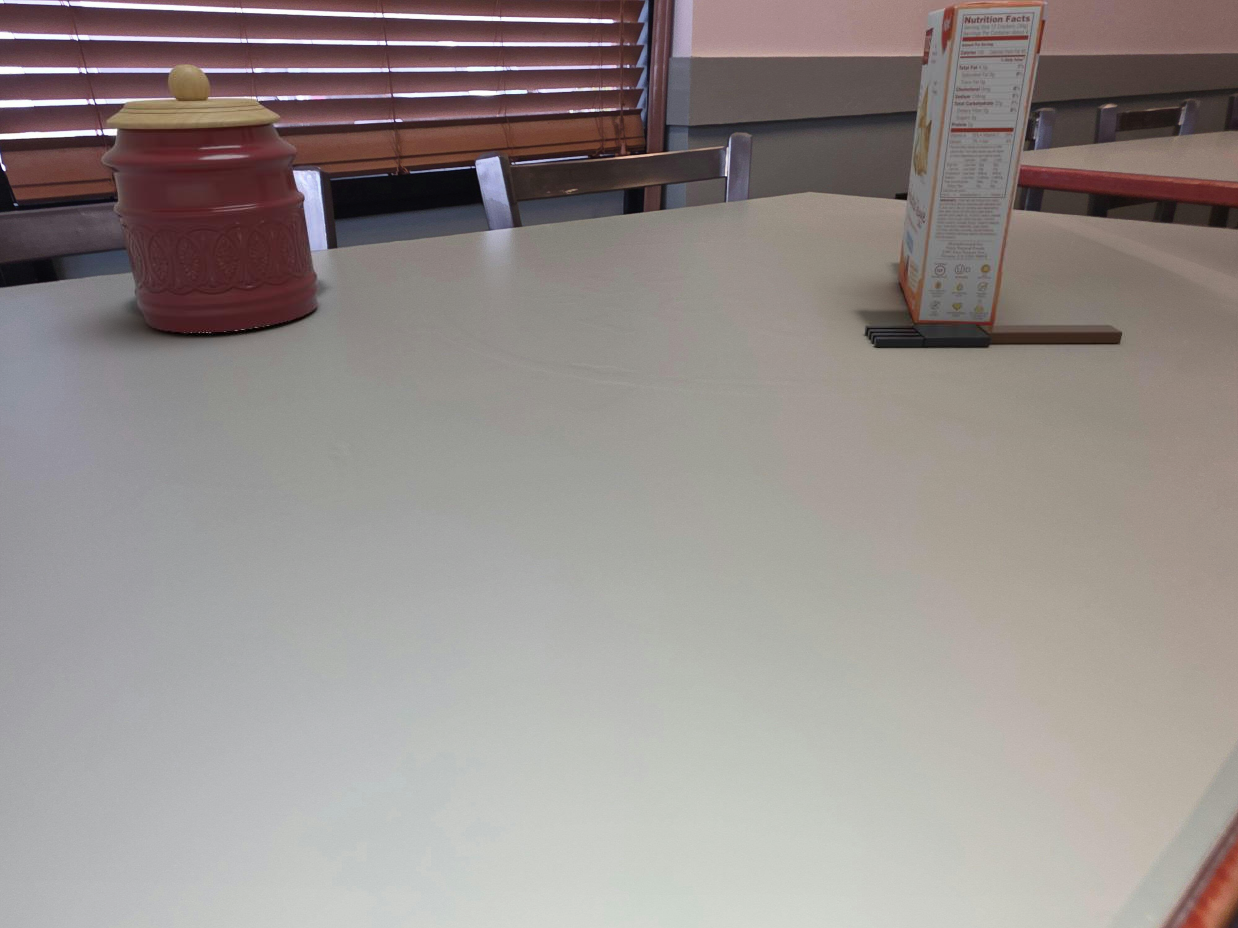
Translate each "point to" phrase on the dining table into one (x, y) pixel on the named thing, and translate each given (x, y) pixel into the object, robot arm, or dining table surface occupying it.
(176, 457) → the dining table surface
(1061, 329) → the fork
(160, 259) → the kitchen canister
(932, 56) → the cracker box
